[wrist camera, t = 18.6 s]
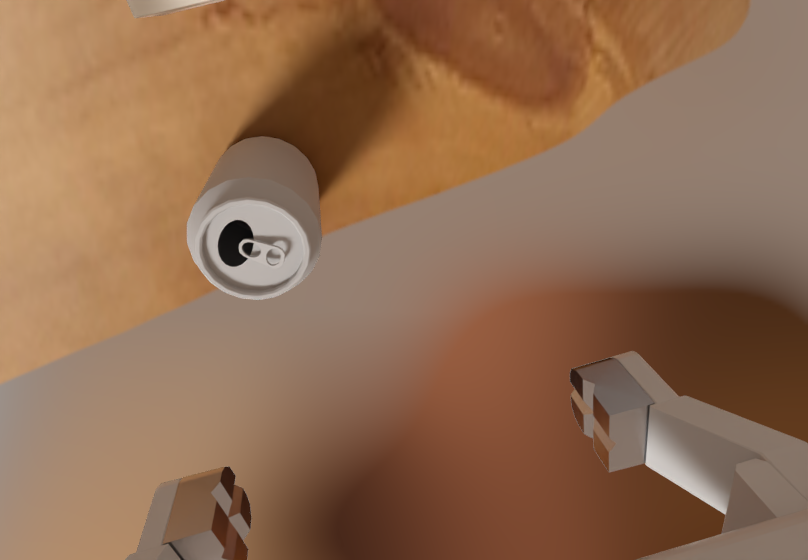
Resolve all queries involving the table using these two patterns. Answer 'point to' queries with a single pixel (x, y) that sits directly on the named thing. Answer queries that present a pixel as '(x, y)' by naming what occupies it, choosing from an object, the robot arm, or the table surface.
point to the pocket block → (163, 6)
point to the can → (257, 220)
